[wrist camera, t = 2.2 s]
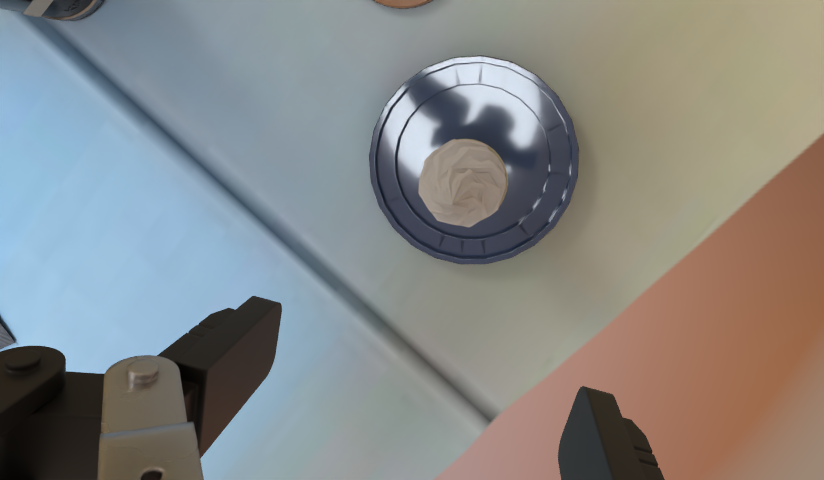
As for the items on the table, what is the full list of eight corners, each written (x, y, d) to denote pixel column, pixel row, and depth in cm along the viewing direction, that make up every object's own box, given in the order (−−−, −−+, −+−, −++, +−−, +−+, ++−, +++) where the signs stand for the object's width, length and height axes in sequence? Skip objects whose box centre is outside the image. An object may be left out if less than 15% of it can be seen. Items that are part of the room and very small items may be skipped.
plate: (337, 167, 40) (330, 170, 38) (468, 11, 35) (466, 7, 34) (474, 293, 41) (473, 302, 39) (619, 157, 36) (625, 160, 35)
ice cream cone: (486, 116, 36) (478, 130, 22) (517, 178, 37) (529, 230, 23) (425, 149, 38) (381, 183, 24) (457, 209, 39) (432, 275, 24)
